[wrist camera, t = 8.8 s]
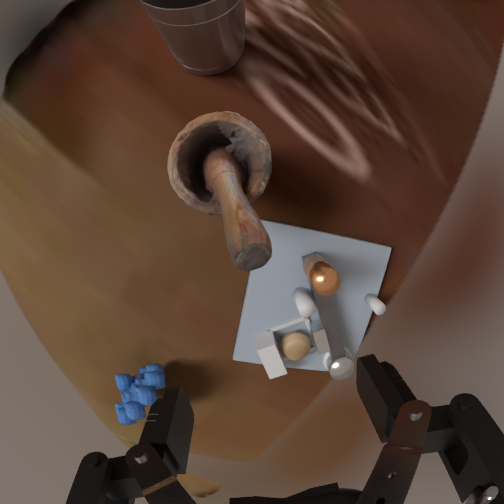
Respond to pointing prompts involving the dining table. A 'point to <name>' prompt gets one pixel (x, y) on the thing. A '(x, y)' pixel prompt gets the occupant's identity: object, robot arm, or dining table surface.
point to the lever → (326, 315)
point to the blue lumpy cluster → (138, 392)
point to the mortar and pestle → (225, 179)
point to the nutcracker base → (291, 275)
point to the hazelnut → (295, 345)
